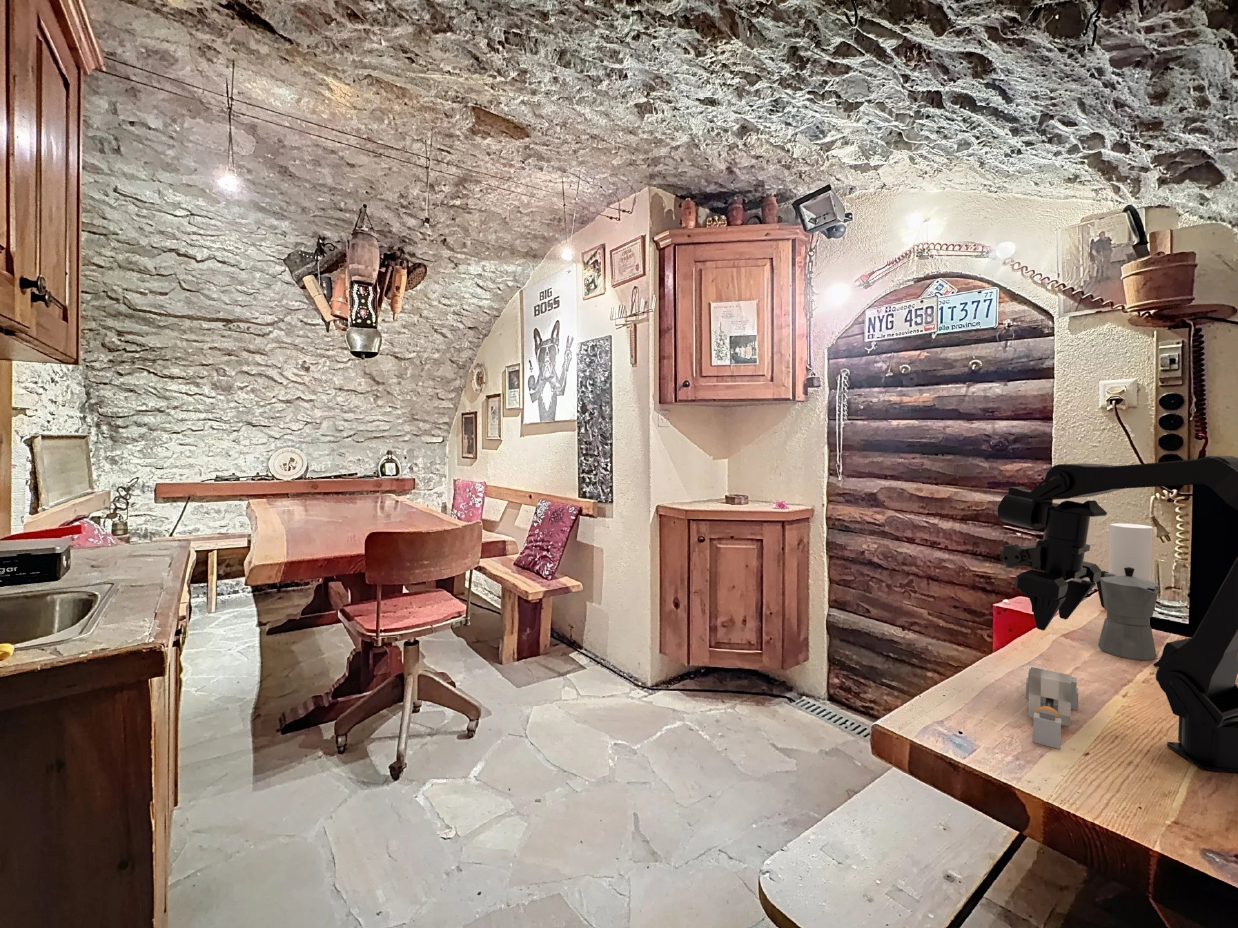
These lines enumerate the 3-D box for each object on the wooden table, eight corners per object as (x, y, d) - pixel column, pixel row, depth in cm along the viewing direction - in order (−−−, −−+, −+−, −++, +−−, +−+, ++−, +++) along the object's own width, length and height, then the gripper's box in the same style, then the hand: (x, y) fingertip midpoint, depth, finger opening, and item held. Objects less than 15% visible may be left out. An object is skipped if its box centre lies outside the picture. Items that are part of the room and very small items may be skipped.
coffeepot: (1178, 665, 112) (1182, 575, 111) (1127, 664, 113) (1130, 574, 112) (1118, 638, 128) (1120, 558, 127) (1073, 637, 128) (1075, 558, 128)
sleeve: (1030, 706, 94) (1031, 666, 93) (1070, 716, 90) (1071, 674, 90) (1028, 716, 91) (1029, 674, 90) (1070, 726, 87) (1071, 683, 87)
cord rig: (1027, 693, 100) (1027, 666, 100) (1077, 704, 96) (1078, 676, 96) (1017, 737, 86) (1018, 705, 86) (1077, 753, 81) (1077, 720, 81)
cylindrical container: (1100, 632, 132) (1103, 524, 130) (1117, 627, 135) (1120, 522, 134) (1138, 641, 125) (1142, 529, 124) (1155, 636, 128) (1159, 526, 127)
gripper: (1034, 520, 108) (1023, 598, 111) (987, 532, 98) (976, 617, 100) (1108, 534, 99) (1094, 619, 101) (1063, 548, 89) (1050, 643, 91)
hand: (1052, 623), depth 99 cm, fingers open, 9 cm apart
